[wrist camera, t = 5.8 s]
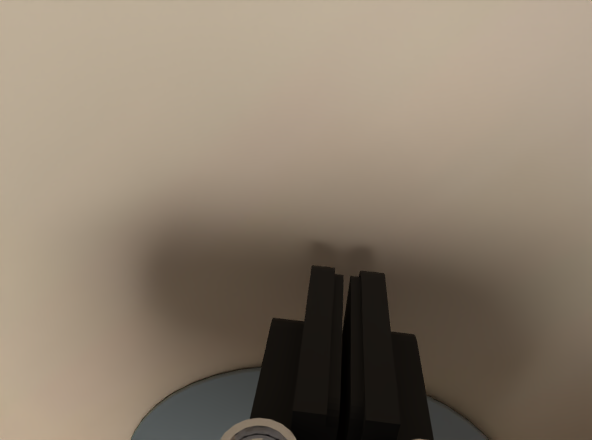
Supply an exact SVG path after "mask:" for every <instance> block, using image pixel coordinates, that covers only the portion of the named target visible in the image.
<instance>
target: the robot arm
mask: <svg viewBox="0 0 592 440" xmlns="http://www.w3.org/2000/svg"><path fill="white" fill-rule="evenodd" d="M342 316H343V275H337V274H335V268H331V267H321V266H312V268H311V276H310V283H309V291H308V299H307V306H306V314H305V321H295V320H286V319H278V318H273V319H272V322H271V326H270V331H269V335H268V340H267V344H266V349H265V353H264V357H263V362H262V366H261V371H260V375H259V380H258V384H257V389H256V393H255V397H254V402H253V406H252V411H251V415H250V419H248V420H244V421H242V422H240V423H237V424H235V425H234V426H232V427H231V428H230V429H229V430H228V431H226V432H225V433H224V435H223V436H222V438H221V439H220V440H434V437H433V432H432V426H431V420H430V414H429V408H428V403H427V397H426V391H425V385H424V380H423V374H422V368H421V362H420V356H419V351H418V345H417V340H416V337H415V335H414V334H406V333H398V332H391V329H390V320H389V310H388V301H387V292H386V282H385V275H384V273H376V272H367V271H360V274H359V277H356V276H351V277H350V282H349V289H348V296H347V303H346V310H345V317H344V324H343V331H342Z"/></svg>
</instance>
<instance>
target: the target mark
mask: <svg viewBox="0 0 592 440" xmlns="http://www.w3.org/2000/svg"><path fill="white" fill-rule="evenodd" d="M260 371H261V367H258V368H249V369H242V370H237V371H233V372H228V373H224V374H219V375H215V376H212V377H210V378H207V379H204V380H201V381H198V382H195V383H193V384H191V385H189V386H187V387H185V388H183V389H181V390H179V391H177V392H175V393H173V394H171V395H170V396H169V397H167V398H166V399H164V400H163V401H162V402H160V403H159V404H157V405H156V406H155V407H154V408H153V409H152V410H151V411H150V412H149V413H148V414H147V415H146V416H145V417H144V418H143V420H142V421H141V423H140V424H139V426H138V427H137V429H136V430H135V432H134V434H133V436H132V438H131V440H220V439H221V438H222V436H223V435H224V433H225V432H226V431H228V430H229V429H230V428H231V427H232V426H234V425H235V424H237V423H240V422H242V421H244V420H248V419H250V415H251V411H252V406H253V402H254V397H255V393H256V389H257V384H258V380H259V375H260ZM426 397H427V403H428V408H429V414H430V420H431V426H432V432H433V437H434V440H489V439H488V438H487V437H486V436H485V435H484V434H483V433H482V432H481V431H480V430H478V429H477V428H476V427H475V426H474V425H473V424H472V423H471V422H470V421H468V420H467V419H466V418H464V417H463V416H461V415H460V414H458V413H457V412H455V411H454V410H452V409H451V408H449V407H448V406H446V405H444V404H442V403H440V402H439V401H437V400H435V399H433V398H431V397H429V396H427V395H426Z"/></svg>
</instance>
